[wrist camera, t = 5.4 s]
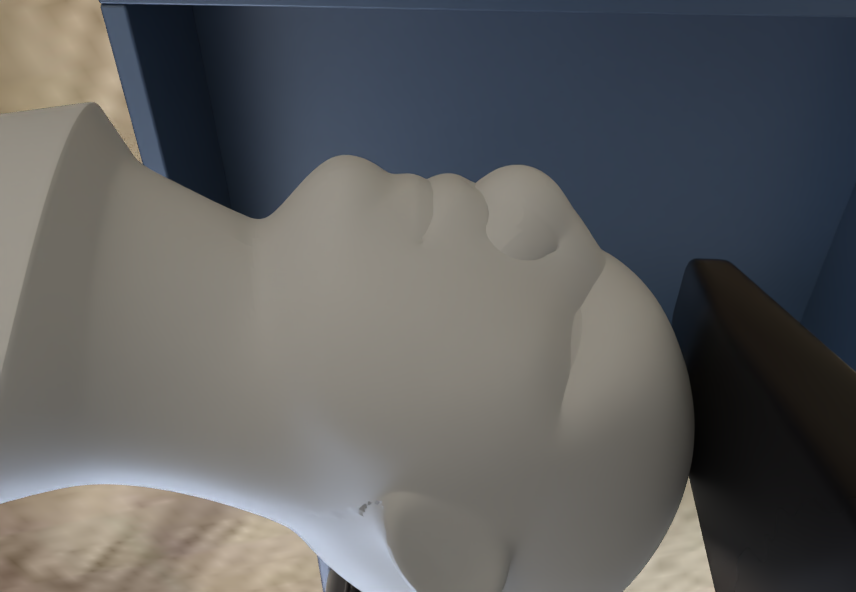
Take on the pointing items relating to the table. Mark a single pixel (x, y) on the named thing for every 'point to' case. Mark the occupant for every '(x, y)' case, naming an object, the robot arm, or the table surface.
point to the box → (533, 118)
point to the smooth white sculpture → (341, 362)
